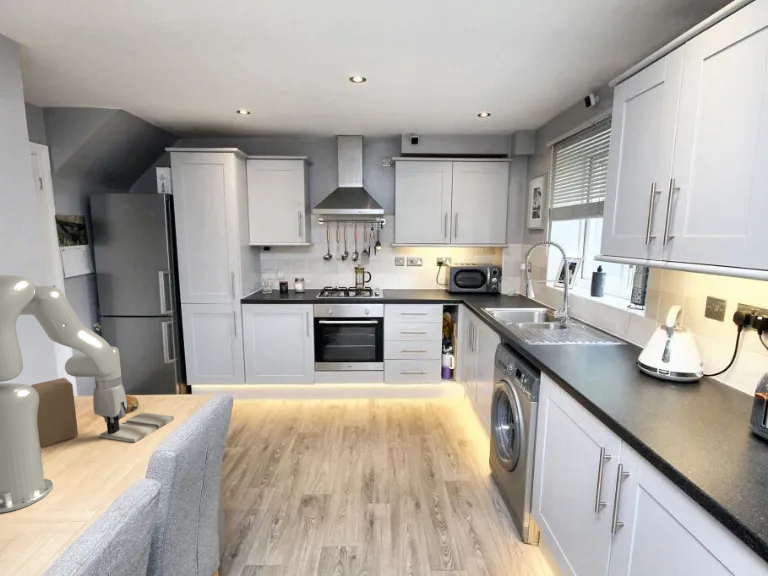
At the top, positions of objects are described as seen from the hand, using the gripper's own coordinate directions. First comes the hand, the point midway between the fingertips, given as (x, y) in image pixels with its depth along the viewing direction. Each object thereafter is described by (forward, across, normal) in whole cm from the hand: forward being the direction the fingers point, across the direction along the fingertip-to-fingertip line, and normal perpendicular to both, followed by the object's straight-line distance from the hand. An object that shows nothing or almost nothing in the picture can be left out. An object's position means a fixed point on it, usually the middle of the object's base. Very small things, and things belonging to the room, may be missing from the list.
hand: (113, 432), depth 135 cm
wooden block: (+2, -18, -6) cm, 19 cm away
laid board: (+1, +4, +12) cm, 12 cm away
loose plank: (+1, +4, +2) cm, 5 cm away
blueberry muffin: (+2, -15, +18) cm, 23 cm away
